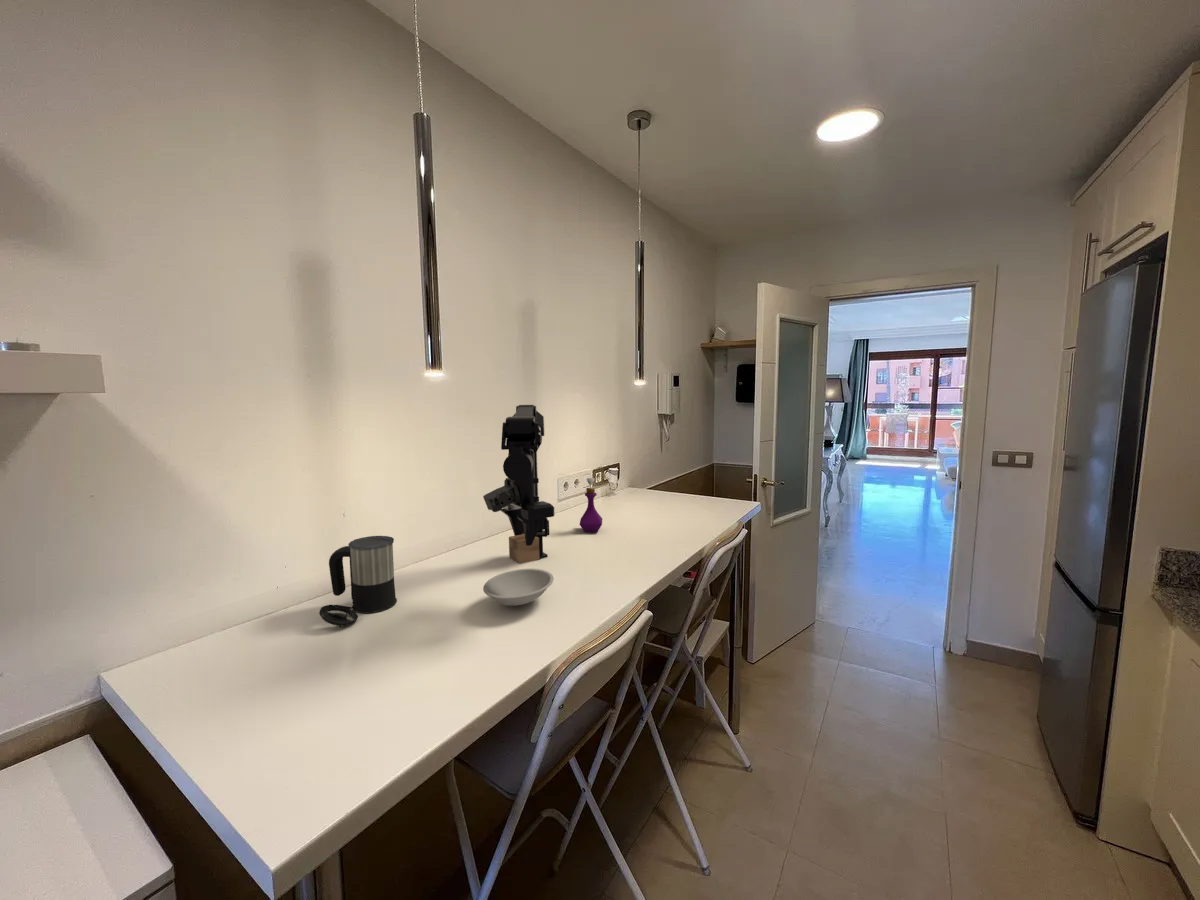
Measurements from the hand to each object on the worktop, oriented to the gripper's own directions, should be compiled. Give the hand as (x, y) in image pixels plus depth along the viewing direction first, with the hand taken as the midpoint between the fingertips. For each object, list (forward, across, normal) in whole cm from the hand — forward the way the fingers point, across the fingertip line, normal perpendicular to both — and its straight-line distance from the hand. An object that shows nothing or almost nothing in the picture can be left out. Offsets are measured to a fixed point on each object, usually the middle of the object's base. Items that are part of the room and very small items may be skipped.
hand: (523, 542), depth 113 cm
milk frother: (+14, -15, -32) cm, 38 cm away
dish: (+14, 0, -2) cm, 14 cm away
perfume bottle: (+13, -38, +44) cm, 59 cm away
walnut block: (+4, 0, 0) cm, 4 cm away
